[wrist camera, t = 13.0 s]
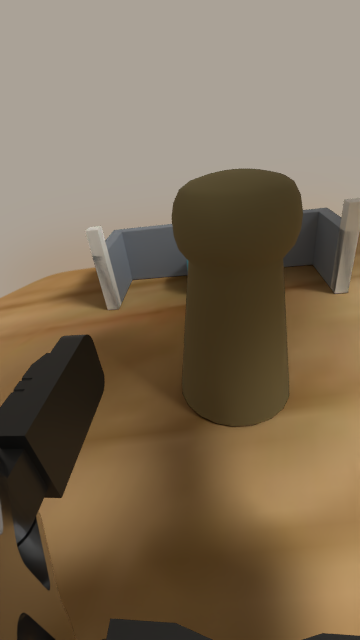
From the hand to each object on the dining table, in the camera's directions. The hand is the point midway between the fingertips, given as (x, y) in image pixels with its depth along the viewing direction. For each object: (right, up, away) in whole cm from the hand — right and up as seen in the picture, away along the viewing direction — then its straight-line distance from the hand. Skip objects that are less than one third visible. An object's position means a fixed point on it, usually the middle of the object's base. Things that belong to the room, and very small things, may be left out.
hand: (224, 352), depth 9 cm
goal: (+2, +4, +19) cm, 20 cm away
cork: (+2, -3, +9) cm, 9 cm away
